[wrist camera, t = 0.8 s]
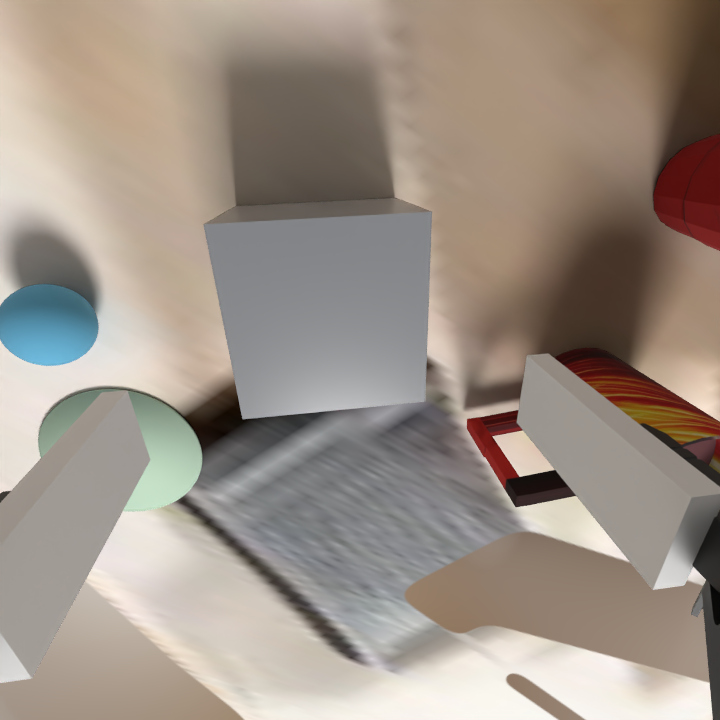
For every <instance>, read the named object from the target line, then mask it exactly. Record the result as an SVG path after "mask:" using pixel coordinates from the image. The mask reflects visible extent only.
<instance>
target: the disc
mask: <svg viewBox="0 0 720 720" xmlns="http://www.w3.org/2000/svg"><path fill="white" fill-rule="evenodd" d="M113 391H124V390H119V389H99V390H92V391H87V392H83V393H80V394H77V395H74V396H72V397H70V398H68V399H66V400H65V401H63V402H61V403H60V404H59V405H57V406H56V407H55V408H54V409H53V410H52V411H51V412H50V413H49V414H48V416H47V417H46V418H45V420H44V422H43V424H42V426H41V429H40V432H39V439H38V443H39V451H40V456H41V458H42V457H43V456H44V455H45V454H46V453H47V452H48V450H49V449H50V448H51V447H52V446H53V445H54V444H55V443H56V442H57V441H58V440H59V438H60V437H61V436H62V435H63V434H64V433H65V432H66V431H67V430H68V429H69V428H70V427H71V425H72V424H73V423H74V422H75V421H76V420H77V419H78V418H79V417H80V416H81V415H82V413H83V412H84V411H85V410H86V409H87V408H88V407H89V406H90V405H91V404H92V403H93V402H94V400H95V399H96V398H97V397H98V396H99V395H100V394H101V393H102V392H113ZM128 394H129V397H130V400H131V403H132V406H133V409H134V412H135V415H136V418H137V421H138V424H139V427H140V430H141V433H142V436H143V439H144V442H145V445H146V448H147V451H148V454H149V457H150V462H149V463H148V465H147V467H146V469H145V471H144V473H143V475H142V476H141V478H140V480H139V482H138V484H137V486H136V487H135V489H134V491H133V493H132V495H131V497H130V499H129V500H128V502H127V504H126V506H125V508H124V510H123V511H146V510H152V509H156V508H160V507H163V506H166V505H168V504H171V503H173V502H174V501H176V500H178V499H179V498H181V497H182V496H184V495H185V494H186V493H187V492H188V491H189V490H190V489H191V488H192V486H193V485H194V484H195V482H196V480H197V479H198V476H199V474H200V471H201V467H202V450H201V445H200V442H199V439H198V437H197V435H196V433H195V432H194V430H193V429H192V427H191V426H190V424H189V423H188V422H187V421H186V420H185V419H184V418H183V417H182V416H181V415H180V414H179V413H177V412H176V411H175V410H174V409H172V408H171V407H169V406H168V405H166V404H164V403H162V402H161V401H159V400H157V399H154V398H152V397H149V396H147V395H144V394H140V393H137V392H133V391H128Z"/></svg>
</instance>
